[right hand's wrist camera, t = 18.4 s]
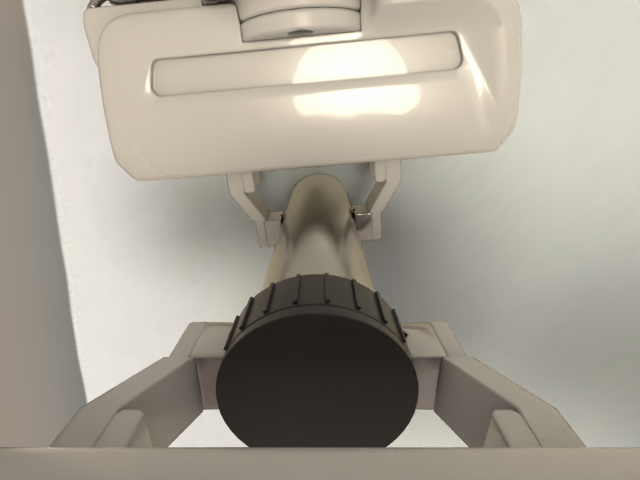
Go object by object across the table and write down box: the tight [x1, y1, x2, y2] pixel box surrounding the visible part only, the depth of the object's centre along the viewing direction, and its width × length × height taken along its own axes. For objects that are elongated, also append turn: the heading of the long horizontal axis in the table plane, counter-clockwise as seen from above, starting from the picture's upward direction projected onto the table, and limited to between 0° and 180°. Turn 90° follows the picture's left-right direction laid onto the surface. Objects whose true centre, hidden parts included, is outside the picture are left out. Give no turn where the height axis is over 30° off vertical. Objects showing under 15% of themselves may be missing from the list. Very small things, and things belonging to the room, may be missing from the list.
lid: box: [216, 273, 419, 448], centre depth 9 cm, size 5×5×2 cm
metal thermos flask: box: [261, 174, 375, 292], centre depth 17 cm, size 4×4×17 cm
